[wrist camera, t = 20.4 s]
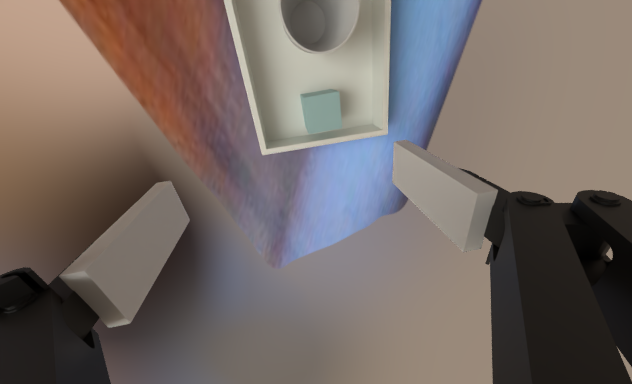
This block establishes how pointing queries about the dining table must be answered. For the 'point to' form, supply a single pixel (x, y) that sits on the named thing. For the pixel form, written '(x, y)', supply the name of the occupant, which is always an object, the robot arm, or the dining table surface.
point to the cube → (321, 110)
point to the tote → (311, 75)
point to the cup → (318, 23)
